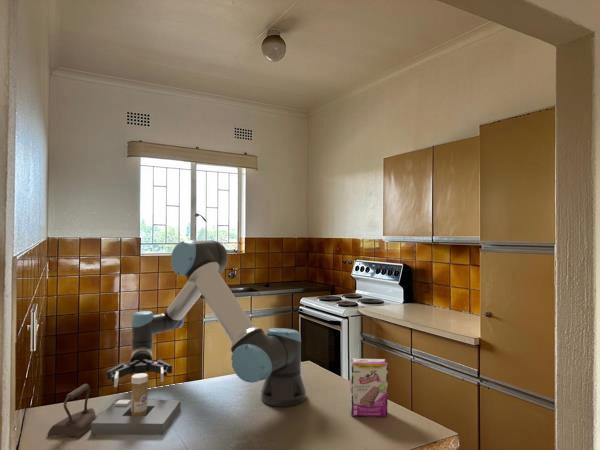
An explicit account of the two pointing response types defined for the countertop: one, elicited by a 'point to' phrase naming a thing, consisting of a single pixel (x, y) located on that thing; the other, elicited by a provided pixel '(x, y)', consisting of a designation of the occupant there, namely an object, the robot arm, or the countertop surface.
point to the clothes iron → (75, 418)
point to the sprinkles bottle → (139, 394)
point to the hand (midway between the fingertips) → (139, 380)
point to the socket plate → (136, 418)
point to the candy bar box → (369, 387)
